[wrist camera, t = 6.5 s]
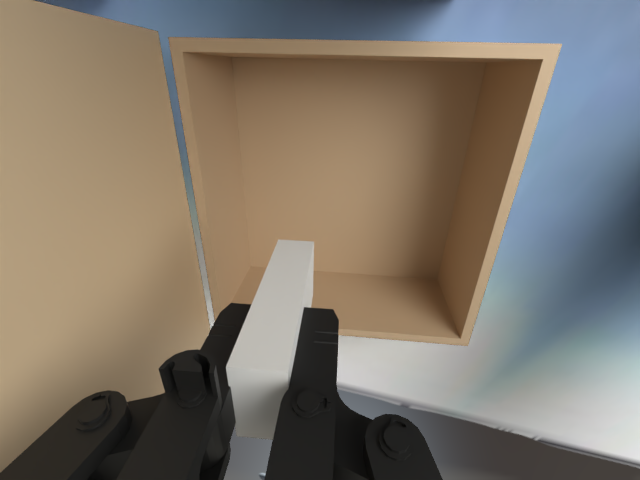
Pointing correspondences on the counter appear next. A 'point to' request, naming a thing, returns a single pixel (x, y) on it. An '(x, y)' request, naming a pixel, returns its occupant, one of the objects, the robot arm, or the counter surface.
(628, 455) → the counter surface
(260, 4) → the counter surface
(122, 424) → the robot arm
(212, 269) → the base
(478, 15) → the counter surface
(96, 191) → the mailer lid
